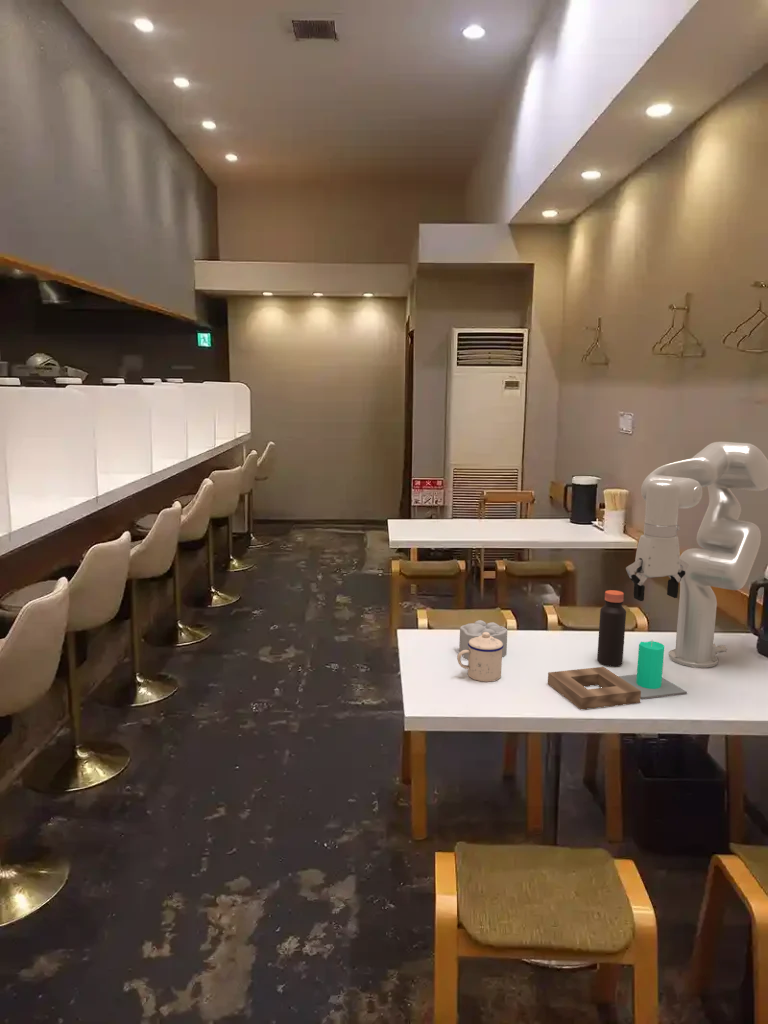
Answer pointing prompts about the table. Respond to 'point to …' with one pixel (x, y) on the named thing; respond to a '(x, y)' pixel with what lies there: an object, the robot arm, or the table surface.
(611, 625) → the bottle
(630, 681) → the mat
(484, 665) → the teacup with lid
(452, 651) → the table surface
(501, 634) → the lumpy-topped squat cylinder
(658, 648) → the candle
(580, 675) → the stand
